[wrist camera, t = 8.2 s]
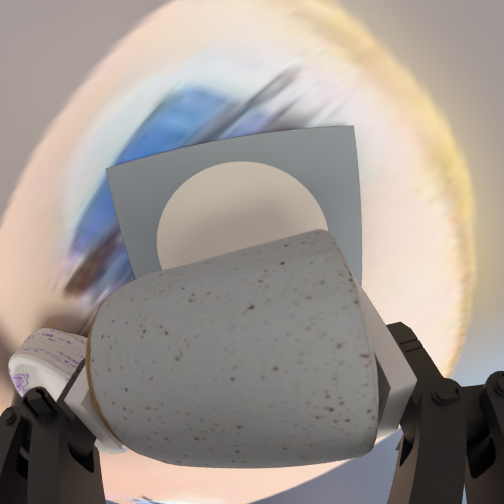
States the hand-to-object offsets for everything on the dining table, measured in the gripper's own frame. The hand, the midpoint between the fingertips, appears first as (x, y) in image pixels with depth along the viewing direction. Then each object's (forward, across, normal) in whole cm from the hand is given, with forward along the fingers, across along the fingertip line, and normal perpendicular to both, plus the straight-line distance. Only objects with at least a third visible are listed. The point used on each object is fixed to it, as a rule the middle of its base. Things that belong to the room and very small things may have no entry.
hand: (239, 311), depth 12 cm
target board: (+9, 0, 0) cm, 9 cm away
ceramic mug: (0, 0, -1) cm, 1 cm away
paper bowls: (+9, -20, -12) cm, 25 cm away
